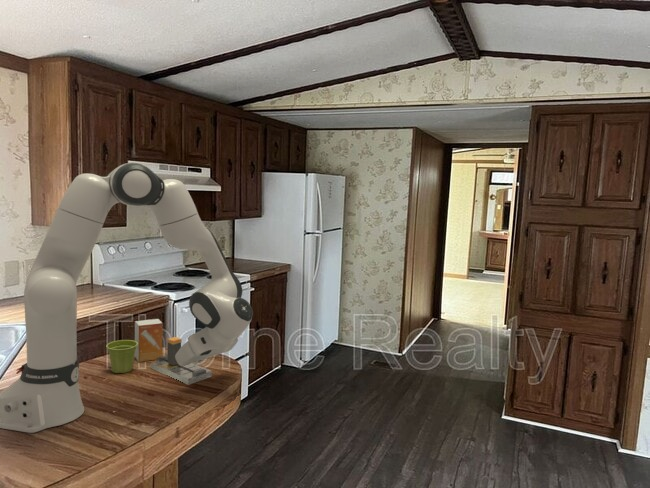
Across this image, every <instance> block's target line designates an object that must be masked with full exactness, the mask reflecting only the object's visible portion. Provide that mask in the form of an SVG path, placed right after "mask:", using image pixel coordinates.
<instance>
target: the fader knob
mask: <svg viewBox="0 0 650 488" xmlns="http://www.w3.org/2000/svg"><path fill="white" fill-rule="evenodd" d="M166 341H167V342H166V344H167V355H168V364H171V365H176V364H178V363H177V361H176V358H175V355H176V353H177V352H178V350H179V349H180V348H181V347H182V338H180V337H177V336H173V337H170V338H166Z"/></svg>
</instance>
